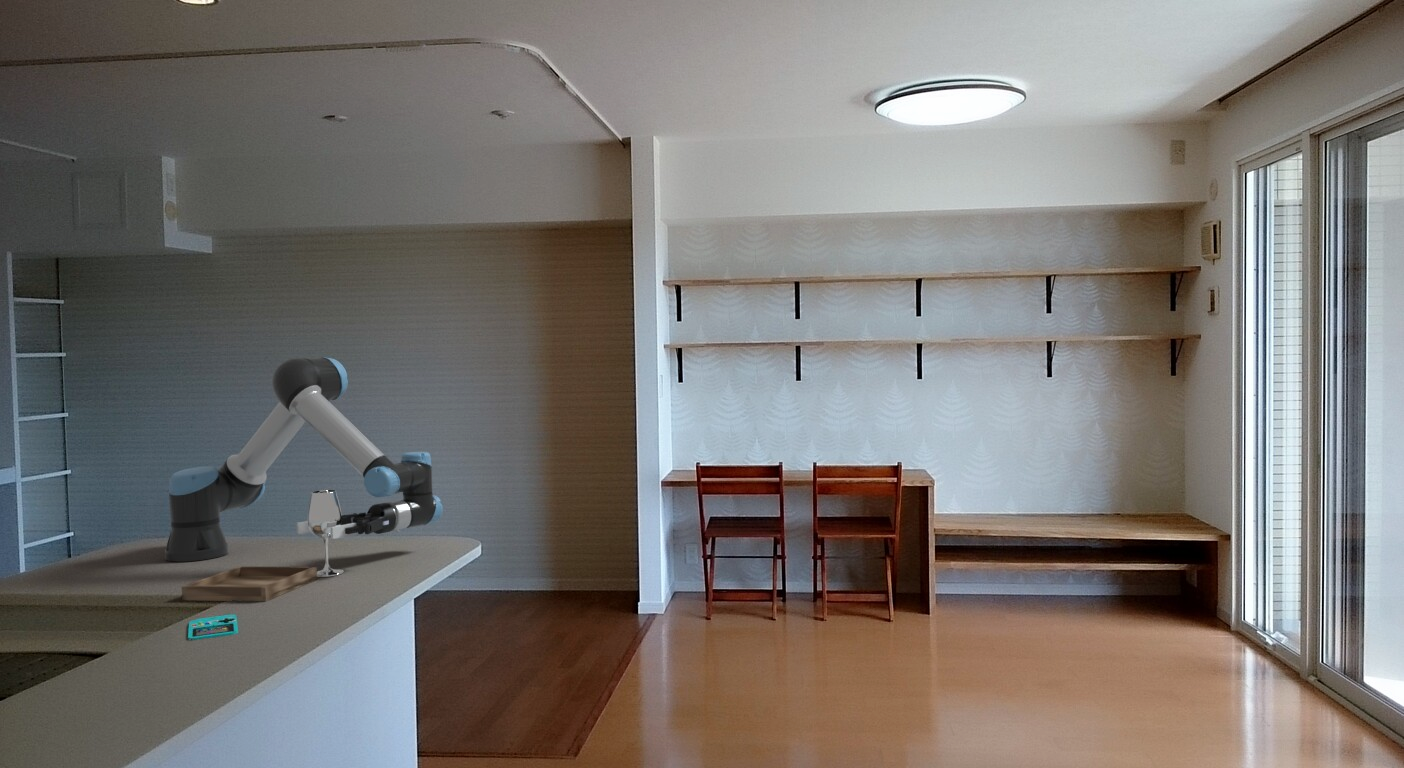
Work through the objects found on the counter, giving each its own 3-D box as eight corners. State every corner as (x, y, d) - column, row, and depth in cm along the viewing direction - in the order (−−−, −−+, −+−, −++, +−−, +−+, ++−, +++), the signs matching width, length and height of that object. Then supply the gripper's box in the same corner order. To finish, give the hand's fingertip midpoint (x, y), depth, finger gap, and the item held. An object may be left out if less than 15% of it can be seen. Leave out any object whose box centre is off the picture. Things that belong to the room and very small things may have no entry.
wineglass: (332, 577, 231) (329, 493, 231) (302, 577, 233) (299, 493, 232) (350, 570, 239) (347, 489, 238) (321, 570, 241) (318, 489, 240)
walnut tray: (240, 578, 233) (239, 566, 233) (317, 579, 230) (316, 567, 230) (182, 600, 214) (181, 586, 213) (265, 601, 210) (265, 587, 210)
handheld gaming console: (235, 612, 199) (238, 630, 185) (236, 617, 199) (238, 636, 185) (189, 618, 195) (187, 637, 182) (189, 623, 195) (188, 643, 182)
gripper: (420, 535, 244) (347, 551, 226) (358, 527, 258) (284, 542, 240) (419, 505, 244) (346, 518, 226) (356, 499, 258) (283, 511, 240)
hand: (314, 530), depth 233 cm, fingers open, 13 cm apart
